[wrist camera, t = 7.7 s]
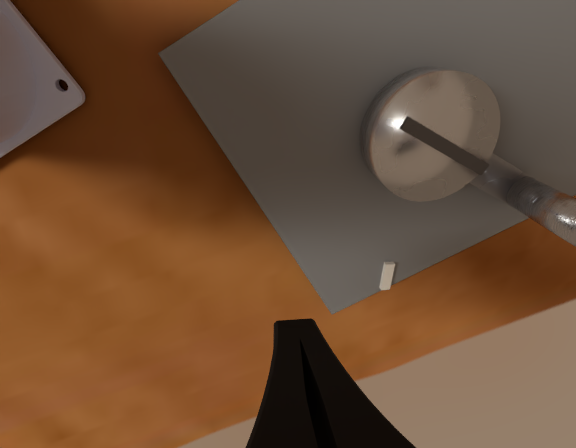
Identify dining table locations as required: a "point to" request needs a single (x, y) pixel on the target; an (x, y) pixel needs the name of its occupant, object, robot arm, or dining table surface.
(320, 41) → the grey square mat
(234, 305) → the dining table surface
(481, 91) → the grey piece
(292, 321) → the robot arm
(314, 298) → the dining table surface
